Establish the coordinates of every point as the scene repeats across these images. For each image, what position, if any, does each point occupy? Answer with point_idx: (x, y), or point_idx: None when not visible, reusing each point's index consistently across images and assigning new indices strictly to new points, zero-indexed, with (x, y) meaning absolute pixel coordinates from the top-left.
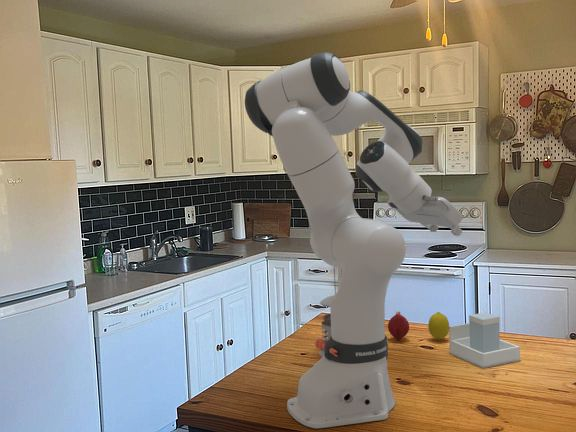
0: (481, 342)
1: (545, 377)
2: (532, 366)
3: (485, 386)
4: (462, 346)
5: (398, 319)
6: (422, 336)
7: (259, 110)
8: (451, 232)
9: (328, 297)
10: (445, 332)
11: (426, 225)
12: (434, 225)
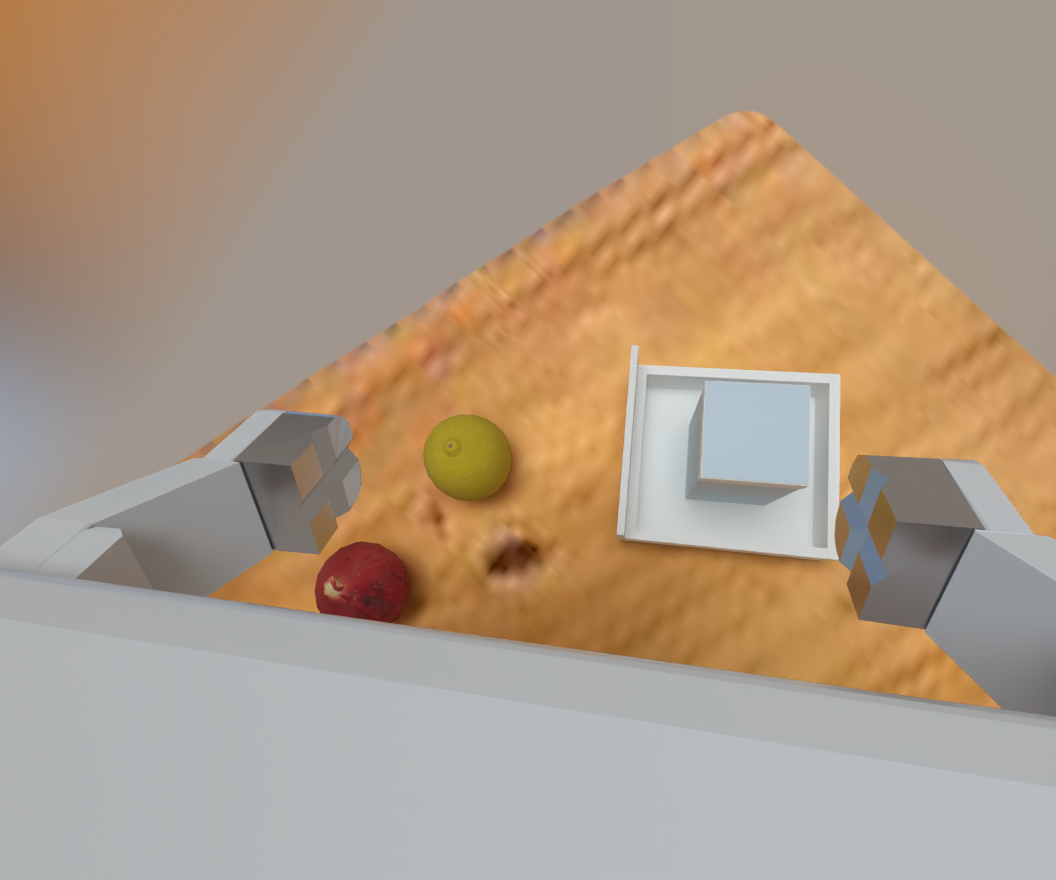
0: (768, 497)
1: (1007, 446)
2: (892, 399)
3: (976, 693)
4: (704, 546)
5: (364, 607)
6: (409, 484)
7: None
8: (854, 602)
9: None
10: (511, 460)
11: (215, 576)
12: (311, 483)
